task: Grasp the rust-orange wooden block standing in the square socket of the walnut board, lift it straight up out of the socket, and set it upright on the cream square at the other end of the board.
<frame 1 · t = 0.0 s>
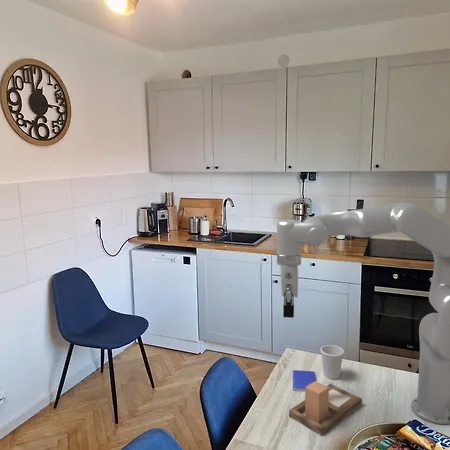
hand: (288, 311, 126), 31 cm above the table, tool pointing down, fingers open, 9 cm apart
hard drive: (304, 383, 142), on the table
dixie cup: (331, 375, 146), on the table
socket board: (326, 410, 126), on the table
block: (316, 417, 123), resting in socket board
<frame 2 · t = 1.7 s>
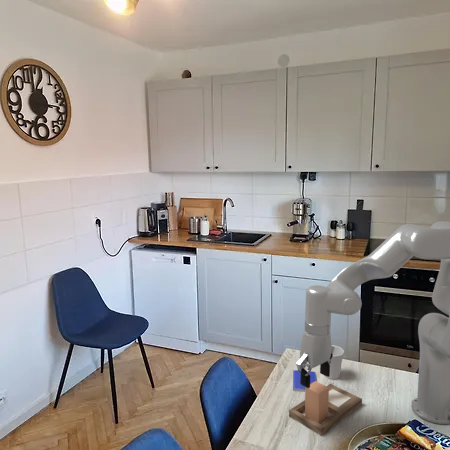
hand: (315, 380, 121), 12 cm above the table, tool pointing down, fingers open, 9 cm apart
nothing on the table moved.
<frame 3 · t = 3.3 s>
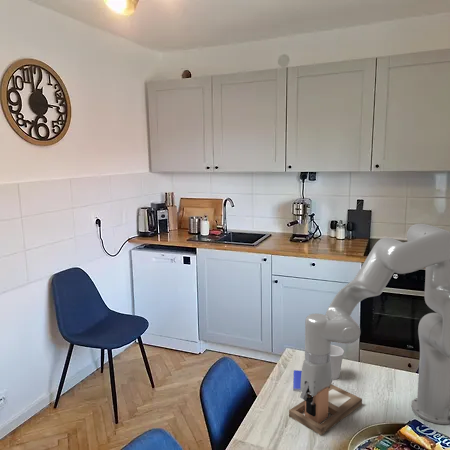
hand: (316, 409, 122), 2 cm above the table, tool pointing down, fingers closed on block, 5 cm apart
block: (316, 416, 123), resting in socket board, touching gripper
everything else where it was.
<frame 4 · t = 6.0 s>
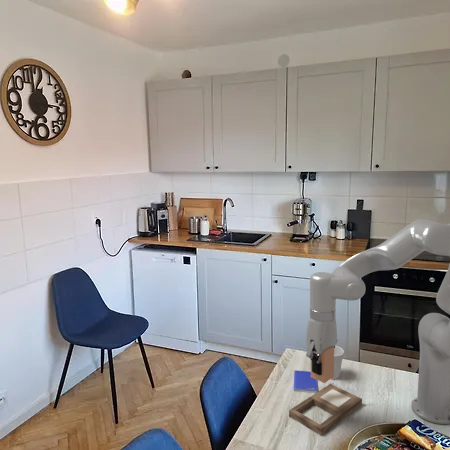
hand: (322, 369, 122), 15 cm above the table, tool pointing down, fingers closed on block, 5 cm apart
block: (322, 376, 122), point 13 cm above the table, touching gripper
everything else where it was.
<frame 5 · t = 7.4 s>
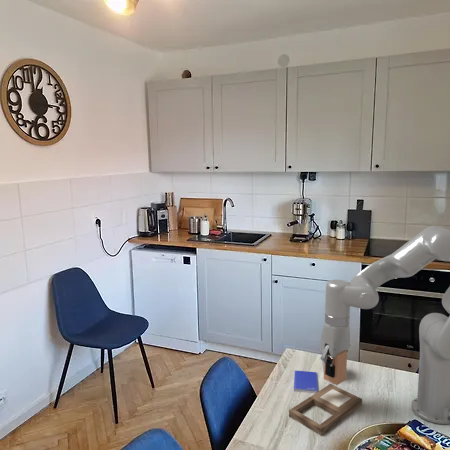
hand: (335, 372, 127), 11 cm above the table, tool pointing down, fingers closed on block, 5 cm apart
block: (334, 379, 128), point 9 cm above the table, touching gripper
everything else where it was.
when the fingers open (6 cm above the table, at t = 8.7 s): block stays where it is, resting on socket board.
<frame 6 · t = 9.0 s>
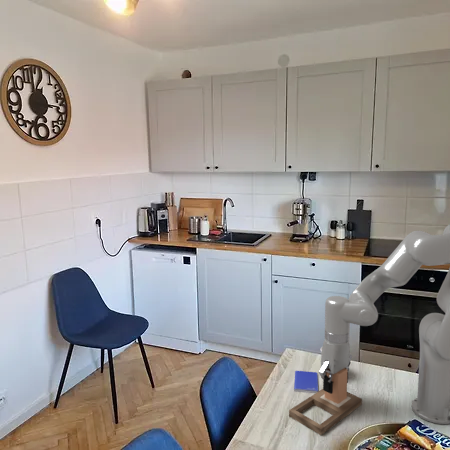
hand: (335, 386, 128), 6 cm above the table, tool pointing down, fingers open, 8 cm apart
block: (335, 397, 129), point 2 cm above the table, touching socket board
everything else where it was.
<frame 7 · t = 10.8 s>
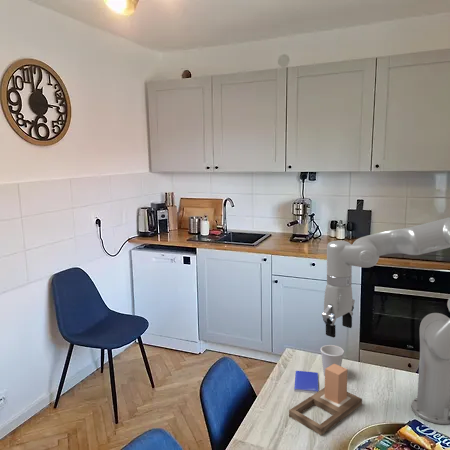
hand: (339, 331, 127), 24 cm above the table, tool pointing down, fingers open, 9 cm apart
nothing on the table moved.
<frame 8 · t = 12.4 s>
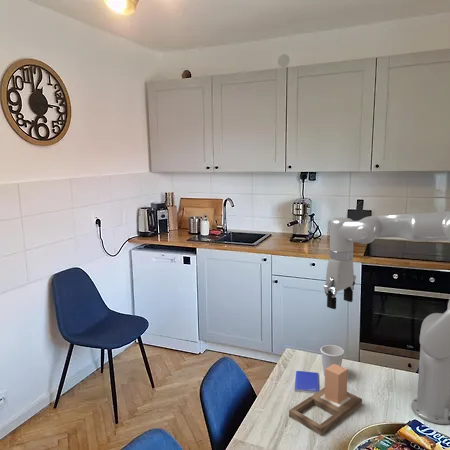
hand: (339, 304, 134), 30 cm above the table, tool pointing down, fingers open, 9 cm apart
at the end: block 0.1 cm from the target spot on the socket board, point 2.2 cm above the socket board's base; block tilted 0°; the gripper is holding nothing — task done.
